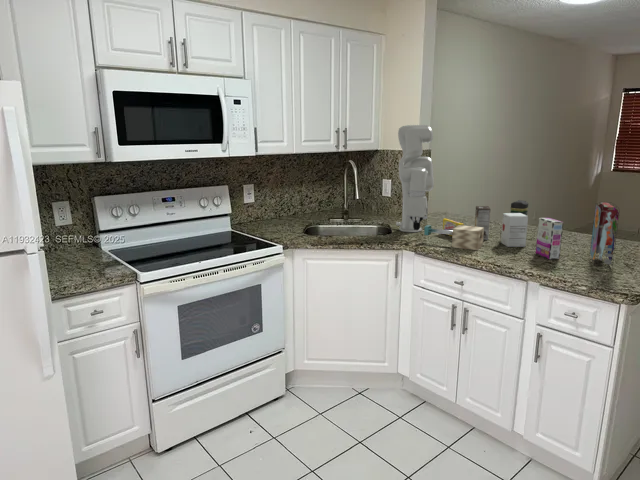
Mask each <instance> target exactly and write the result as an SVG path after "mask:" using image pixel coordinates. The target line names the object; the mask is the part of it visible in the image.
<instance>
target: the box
mask: <svg viewBox="0 0 640 480" xmlns="http://www.w3.org/2000/svg"><path fill="white" fill-rule="evenodd" d="M598 203H599V202H598ZM598 203H596V204H595V207H594V217H593V225H592V231H591V232H592V233H591V241H590V248H589V249H590V250H589V254H590V258H591V262H592V265H593V267H596V266H600V267H601V265H599V264H598V262H597V260H600V261H601V262H602V261H603V260H604V264H607V265H609V266H608V267H607V266H606V267H605V266H604V265H602V268H604V270H605V269H611V270H612V269H613V266H614V263H613V260H614V258H615V256H614V253H615V251H616V248H615V246H616V244H617V243H616V241H617V238H616V237H617V235H618V233H617V232H618V226H619V225H618V221H619V218H620V208H619V207H617V205H615V204H614V203H612V202H604V201H600V203H599V204H598ZM610 208H611V209H610ZM617 208H618V209H617ZM614 218H615V220H614ZM613 231H614V232H613ZM614 234H615V235H614ZM604 250H605V251H606V253H605V254H604ZM596 254H598V257H596ZM603 255H604V256H605V257H606V259H603ZM593 260H594V261H593ZM594 262H595V263H594ZM595 264H596V265H595ZM610 265H611V266H612V267H610ZM609 267H610V268H609Z"/></svg>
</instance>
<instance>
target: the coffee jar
mask: <svg viewBox="0 0 640 480" xmlns="http://www.w3.org/2000/svg"><path fill="white" fill-rule="evenodd" d="M528 211H529V203H528V202H527V200H521V199H519V200H516V201H513V202H511V203H510V211H509V213H522V214H524V215H526V216H528Z"/></svg>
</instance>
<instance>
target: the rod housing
mask: <svg viewBox="0 0 640 480" xmlns="http://www.w3.org/2000/svg"><path fill="white" fill-rule="evenodd" d="M483 235H484V227H475V225H474V226H473V225H472V226H471V225H464V226H463V225H458V226H457V227H455V228H453V235H452V236H451V238H452V239H451V248H455V249H456V248H457V249H466V250H474V251H478V250H480V248H483V246H484V240H483Z"/></svg>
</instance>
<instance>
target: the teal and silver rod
mask: <svg viewBox="0 0 640 480" xmlns="http://www.w3.org/2000/svg"><path fill="white" fill-rule="evenodd" d="M423 232H424V233H423V234H424V236H430V235H432V233H433V234H442V235H447V234H450V235H453V231H451V230H443V229H438V228H432V225H431V224H426V225H425V226H424V230H423ZM450 235H449V236H450Z"/></svg>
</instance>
